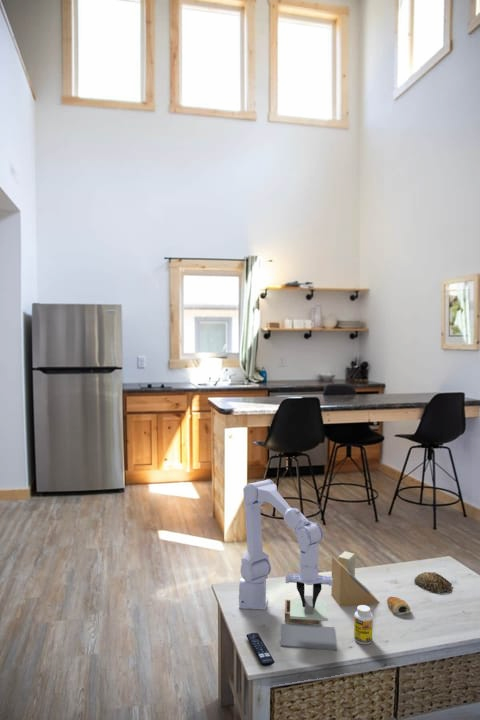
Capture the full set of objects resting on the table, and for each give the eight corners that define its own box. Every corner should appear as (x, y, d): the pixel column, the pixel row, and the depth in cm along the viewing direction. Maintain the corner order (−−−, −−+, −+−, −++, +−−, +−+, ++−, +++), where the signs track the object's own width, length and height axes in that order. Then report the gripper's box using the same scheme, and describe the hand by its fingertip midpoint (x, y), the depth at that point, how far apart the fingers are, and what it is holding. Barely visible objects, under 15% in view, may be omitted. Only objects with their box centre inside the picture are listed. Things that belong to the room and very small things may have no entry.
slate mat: (280, 646, 162) (280, 645, 162) (281, 624, 174) (281, 623, 174) (336, 650, 160) (336, 649, 160) (334, 628, 172) (334, 627, 172)
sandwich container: (380, 603, 188) (381, 562, 188) (340, 607, 186) (340, 565, 185) (370, 592, 197) (371, 552, 196) (331, 595, 194) (331, 555, 193)
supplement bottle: (352, 642, 164) (353, 610, 164) (355, 633, 169) (356, 602, 169) (371, 646, 162) (371, 614, 162) (373, 637, 167) (374, 605, 167)
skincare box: (344, 581, 205) (345, 550, 204) (355, 584, 202) (355, 553, 201) (337, 588, 199) (337, 556, 199) (348, 591, 197) (348, 559, 196)
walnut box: (284, 621, 176) (284, 613, 176) (285, 607, 185) (285, 599, 184) (318, 624, 175) (318, 615, 174) (317, 609, 183) (317, 601, 183)
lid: (290, 620, 163) (290, 608, 162) (290, 603, 172) (290, 591, 172) (327, 622, 162) (327, 610, 161) (326, 605, 171) (326, 594, 170)
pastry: (382, 602, 189) (382, 592, 189) (399, 601, 190) (399, 590, 190) (394, 616, 180) (394, 605, 180) (412, 615, 181) (413, 604, 181)
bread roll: (409, 582, 205) (410, 569, 205) (433, 576, 211) (434, 563, 210) (434, 597, 194) (435, 583, 194) (459, 590, 199) (460, 577, 199)
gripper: (285, 567, 163) (285, 611, 163) (333, 570, 161) (332, 613, 162) (285, 557, 170) (285, 599, 170) (332, 560, 168) (331, 602, 169)
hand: (308, 605), depth 166 cm, fingers closed on lid, 2 cm apart
